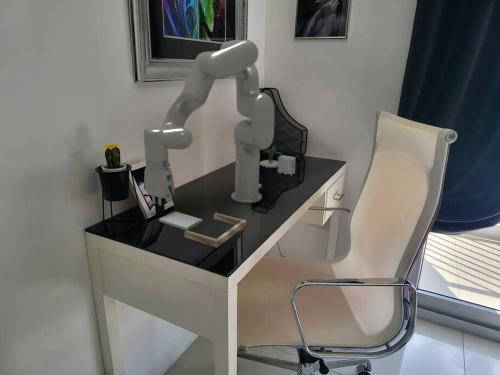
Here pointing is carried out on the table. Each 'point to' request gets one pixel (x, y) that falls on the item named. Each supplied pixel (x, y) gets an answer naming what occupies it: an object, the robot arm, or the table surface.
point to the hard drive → (181, 220)
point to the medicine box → (286, 164)
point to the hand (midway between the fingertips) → (160, 214)
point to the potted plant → (271, 162)
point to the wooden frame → (223, 238)
